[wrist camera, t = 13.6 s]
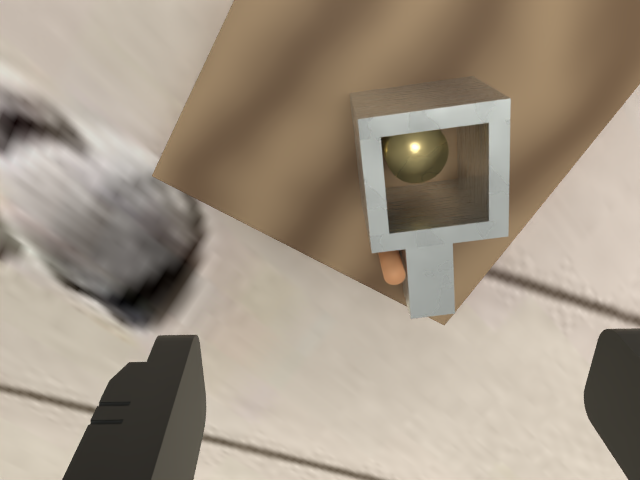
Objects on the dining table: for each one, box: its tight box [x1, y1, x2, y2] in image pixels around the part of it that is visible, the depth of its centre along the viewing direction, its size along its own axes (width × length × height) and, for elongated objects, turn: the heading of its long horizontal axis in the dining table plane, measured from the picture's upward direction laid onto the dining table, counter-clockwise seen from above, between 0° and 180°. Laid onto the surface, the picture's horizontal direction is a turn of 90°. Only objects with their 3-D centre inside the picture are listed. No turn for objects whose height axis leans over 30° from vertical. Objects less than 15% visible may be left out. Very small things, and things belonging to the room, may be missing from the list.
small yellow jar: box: [381, 129, 449, 183], centre depth 28 cm, size 3×3×4 cm
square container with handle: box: [350, 76, 511, 319], centre depth 28 cm, size 12×6×6 cm, turn 8°
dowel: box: [378, 250, 406, 285], centre depth 31 cm, size 1×1×3 cm
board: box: [152, 0, 640, 325], centre depth 29 cm, size 20×22×2 cm
